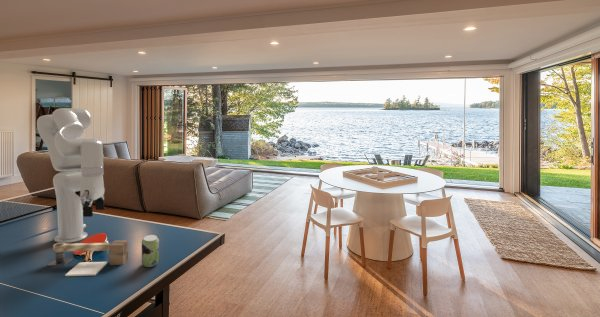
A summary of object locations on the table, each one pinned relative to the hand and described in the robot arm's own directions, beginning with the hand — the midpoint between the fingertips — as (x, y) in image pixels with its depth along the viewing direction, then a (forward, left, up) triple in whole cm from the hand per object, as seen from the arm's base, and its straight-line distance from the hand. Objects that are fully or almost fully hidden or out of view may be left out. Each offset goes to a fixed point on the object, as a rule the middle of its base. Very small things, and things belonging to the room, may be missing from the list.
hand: (94, 212), depth 132 cm
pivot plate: (+5, -11, -18) cm, 22 cm away
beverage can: (+10, +24, -19) cm, 32 cm away
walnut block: (+6, +11, -18) cm, 22 cm away
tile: (+12, +2, -18) cm, 22 cm away
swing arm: (+5, -3, -18) cm, 19 cm away
